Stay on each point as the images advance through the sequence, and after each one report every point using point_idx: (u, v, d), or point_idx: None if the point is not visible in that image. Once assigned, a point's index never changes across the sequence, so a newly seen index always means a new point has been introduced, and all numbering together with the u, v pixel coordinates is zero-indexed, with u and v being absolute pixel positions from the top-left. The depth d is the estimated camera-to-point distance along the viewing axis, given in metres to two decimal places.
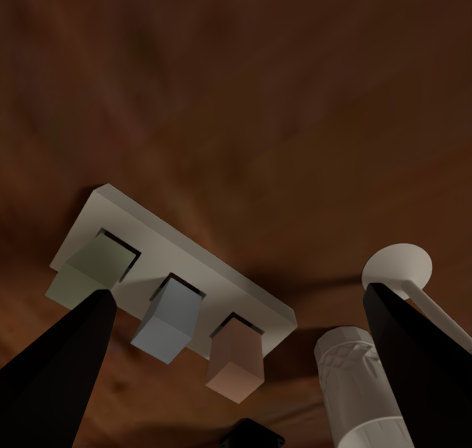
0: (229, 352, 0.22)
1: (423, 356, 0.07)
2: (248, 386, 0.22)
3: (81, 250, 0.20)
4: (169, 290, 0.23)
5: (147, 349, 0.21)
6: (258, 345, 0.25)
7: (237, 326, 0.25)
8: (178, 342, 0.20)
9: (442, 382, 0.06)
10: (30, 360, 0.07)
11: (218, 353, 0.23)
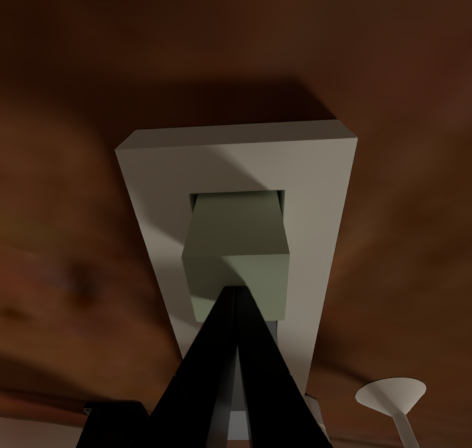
0: None
1: (241, 358, 0.07)
2: None
3: None
4: (276, 339, 0.14)
5: None
6: None
7: None
8: None
9: (244, 384, 0.06)
10: (205, 358, 0.07)
11: None
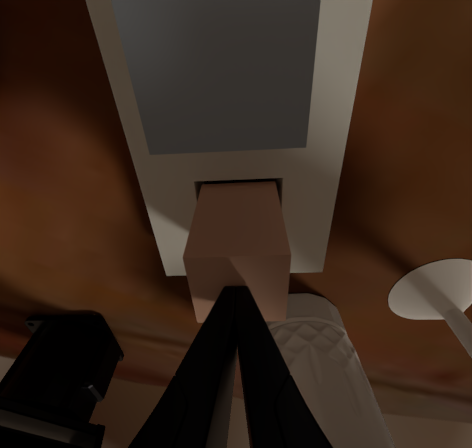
0: (278, 234, 0.09)
1: (241, 358, 0.07)
2: None
3: None
4: None
5: (137, 40, 0.05)
6: None
7: None
8: (259, 121, 0.05)
9: (244, 383, 0.06)
10: (205, 358, 0.07)
11: (231, 217, 0.10)
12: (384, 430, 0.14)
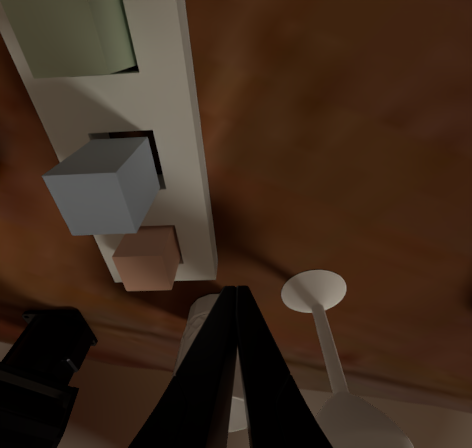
0: (161, 245, 0.19)
1: (241, 358, 0.07)
2: (152, 284, 0.20)
3: None
4: (140, 152, 0.15)
5: (60, 201, 0.13)
6: (179, 254, 0.22)
7: None
8: (113, 224, 0.14)
9: (244, 383, 0.06)
10: (205, 358, 0.07)
11: (142, 236, 0.20)
12: None
